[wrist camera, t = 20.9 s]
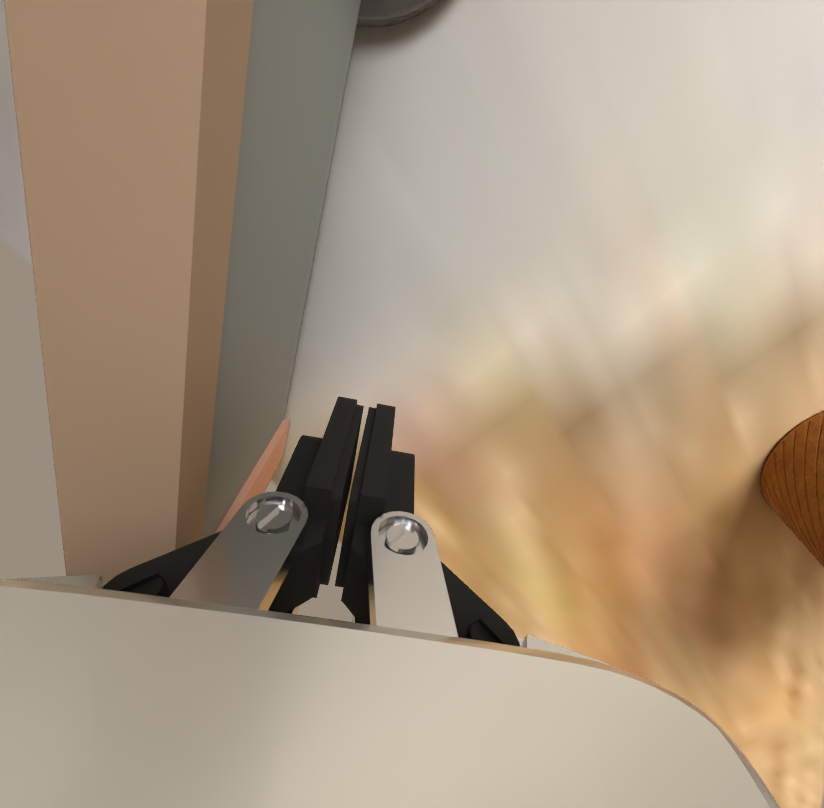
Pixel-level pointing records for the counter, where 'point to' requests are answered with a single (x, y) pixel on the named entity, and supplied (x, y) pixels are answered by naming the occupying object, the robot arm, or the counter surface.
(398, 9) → the hinge post
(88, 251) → the bar
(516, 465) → the counter surface
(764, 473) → the disposable coffee cup
